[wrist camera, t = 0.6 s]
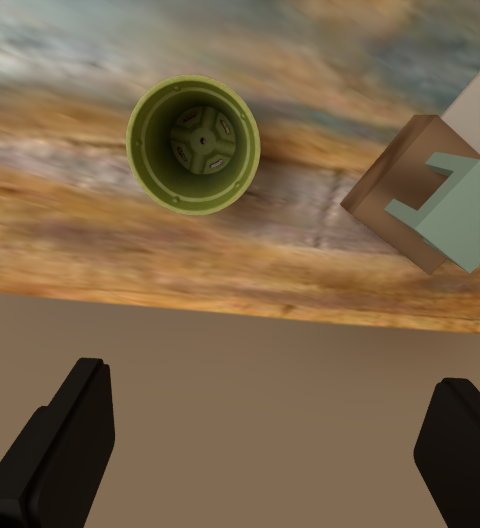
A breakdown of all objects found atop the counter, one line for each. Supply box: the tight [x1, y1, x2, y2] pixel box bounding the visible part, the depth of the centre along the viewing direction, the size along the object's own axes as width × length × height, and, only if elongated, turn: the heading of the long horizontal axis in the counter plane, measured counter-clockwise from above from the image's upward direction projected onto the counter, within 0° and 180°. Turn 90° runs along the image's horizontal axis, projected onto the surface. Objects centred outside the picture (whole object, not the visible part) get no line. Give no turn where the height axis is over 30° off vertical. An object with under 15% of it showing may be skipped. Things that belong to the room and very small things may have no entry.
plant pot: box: [126, 74, 261, 215], centre depth 29 cm, size 9×9×9 cm
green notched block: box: [384, 152, 480, 274], centre depth 29 cm, size 6×6×6 cm
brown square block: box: [340, 115, 480, 275], centre depth 33 cm, size 10×10×4 cm
